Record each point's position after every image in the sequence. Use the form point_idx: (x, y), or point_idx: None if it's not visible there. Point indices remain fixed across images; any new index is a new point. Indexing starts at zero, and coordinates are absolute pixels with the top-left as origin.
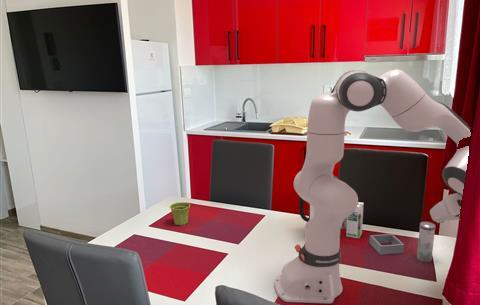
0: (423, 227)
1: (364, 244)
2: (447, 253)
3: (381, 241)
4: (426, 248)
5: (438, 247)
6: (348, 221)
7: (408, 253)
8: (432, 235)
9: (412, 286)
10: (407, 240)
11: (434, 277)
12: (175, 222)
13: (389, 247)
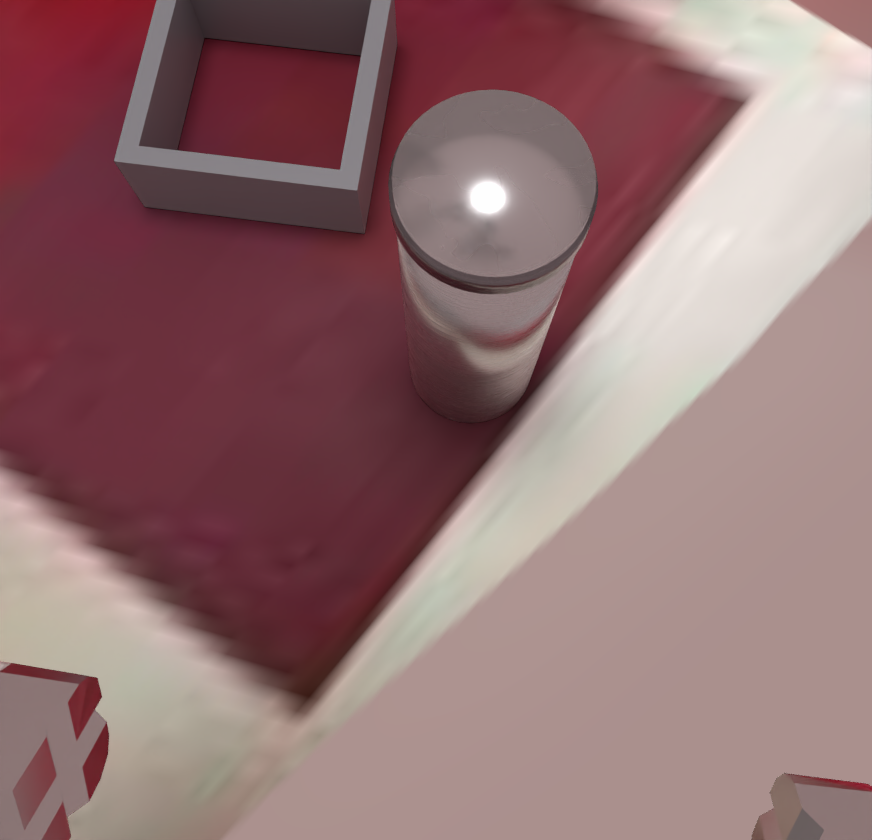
0: (395, 219)
1: (137, 28)
2: (745, 339)
3: (286, 34)
4: (438, 370)
5: (737, 230)
6: None
7: None
8: (502, 321)
9: None
10: (548, 60)
11: (335, 657)
12: None
13: (207, 181)
